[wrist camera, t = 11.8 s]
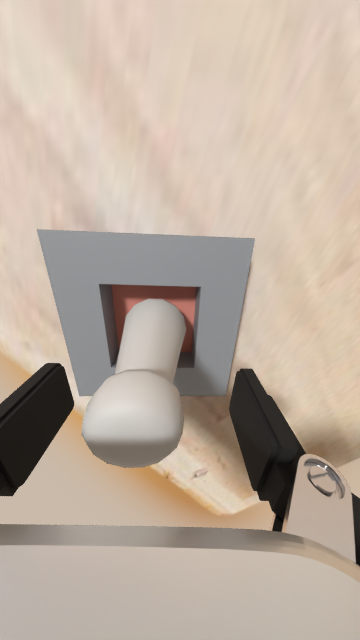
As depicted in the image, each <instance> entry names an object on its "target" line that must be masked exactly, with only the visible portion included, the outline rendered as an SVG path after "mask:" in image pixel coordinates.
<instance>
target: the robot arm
mask: <svg viewBox="0 0 360 640" xmlns="http://www.w3.org/2000/svg"><path fill="white" fill-rule="evenodd" d="M73 407H74V400H73V397H72V393H71V390H70V386H69V383H68V379H67V376H66V372H65V369H64V367H63V366H62V365H61V364H59V363H46V364H45V365H44V366H43V367H41V368H40V369H39V370H38V371H37V372H36V373H35V374H34V375H32V376H31V377H30V378H29V379H28V380H27V381H26V382H25V383H23V384H22V385H21V386H20V387H19V388H18V389H17V390H16V391H14V392H13V393H12V394H11V395H10V396H9V397H8V398H6V399H5V400H4V401H3V402H2V403H1V404H0V496H13V495H14V493H15V492H16V490H17V489H18V487H20V486H21V485H23V484H24V483H25V481H26V480H27V478H28V476H29V475H30V474H31V472H32V471H33V469H34V467H35V466H36V465H37V463H38V461H39V460H40V458H41V457H42V455H43V454H44V452H45V451H46V449H47V448H48V446H49V445H50V443H51V441H52V440H53V438H54V437H55V435H56V434H57V432H58V431H59V429H60V428H61V426H62V425H63V423H64V422H65V420H66V418H67V417H68V416H69V414H70V412H71V411H72V409H73ZM229 410H230V415H231V419H232V422H233V425H234V429H235V432H236V435H237V439H238V442H239V445H240V449H241V452H242V456H243V459H244V462H245V466H246V469H247V472H248V476H249V479H250V482H251V486H252V488H253V490H254V491H257V493H258V496H259V499H260V501H269V503H270V506H271V509H272V511H273V512H274V515H273V519H272V524H271V528H270V531H266V530H252V529H232V528H203V527H157V526H98V525H97V526H96V525H95V526H94V525H14V524H13V525H12V524H10V525H9V524H0V640H360V498H358V497H357V496H355V495H354V494H353V493H351V490H350V487H349V485H348V483H347V481H346V479H345V478H344V477H343V476H342V474H341V473H340V472H339V471H338V470H337V469H336V468H335V467H334V466H333V465H332V464H331V463H329V462H328V461H326V460H325V459H323V458H321V457H319V456H317V455H313V454H306V453H305V451H304V449H303V448H302V446H301V445H300V443H299V441H298V440H297V438H296V436H295V435H294V433H293V431H292V430H291V428H290V426H289V425H288V423H287V421H286V420H285V418H284V416H283V415H282V413H281V411H280V410H279V408H278V406H277V405H276V403H275V401H274V400H273V398H272V397H271V396H270V395H267V393H266V392H265V390H264V388H263V386H262V385H261V383H260V381H259V380H258V378H257V376H256V374H255V373H254V371H253V370H252V369H240V371H237V373H236V377H235V382H234V387H233V392H232V397H231V401H230V407H229Z"/></svg>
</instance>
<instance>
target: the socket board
mask: <svg viewBox="0 0 360 640" xmlns="http://www.w3.org/2000/svg"><path fill="white" fill-rule="evenodd" d="M37 232H38V236H39V240H40V244H41V248H42V252H43V256H44V259H45V263H46V267H47V271H48V275H49V279H50V283H51V287H52V291H53V295H54V298H55V302H56V306H57V310H58V314H59V318H60V322H61V326H62V330H63V334H64V337H65V341H66V345H67V349H68V353H69V357H70V361H71V365H72V369H73V373H74V377H75V380H76V384H77V388H78V392H79V396H93V395H94V393H95V392H96V391H97V390H98V388H99V387H100V386H101V385H102V384H103V383H104V381H105V380H106V379H107V378H109V377H110V376H112V375H114V374H115V370H116V365H117V360H118V355H119V350H120V345H121V340H122V335H123V330H124V324H125V319H126V315H127V314H128V313H129V311H130V310H131V309H132V308H133V306H134V305H135V304H137V303H140V302H142V301H144V300H146V299H164V300H166V301H168V302H170V303H172V304H174V305H175V306H176V307H177V308H178V310H179V311H180V312H181V313H182V315H183V316H184V320H185V325H186V332H185V336H184V340H183V343H182V347H181V351H180V355H179V359H178V364H177V368H176V372H175V377H174V381H173V385H174V386H175V387H176V388H177V389H178V391H179V394H180V396H226V391H227V386H228V381H229V375H230V370H231V364H232V359H233V354H234V348H235V343H236V338H237V332H238V327H239V322H240V316H241V311H242V305H243V300H244V295H245V289H246V284H247V279H248V273H249V268H250V263H251V257H252V252H253V247H254V241H255V239H254V238H230V237H206V236H183V235H159V234H135V233H111V232H87V231H64V230H40V229H37Z"/></svg>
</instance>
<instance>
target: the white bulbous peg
mask: <svg viewBox="0 0 360 640" xmlns="http://www.w3.org/2000/svg"><path fill="white" fill-rule="evenodd" d="M185 332H186V325H185V320H184V316H183V315H182V313H181V312H180V311H179V310H178V308H177V307H176V306H175V305H174V304H172V303H170V302H168V301H166V300H164V299H146V300H144V301H142V302H140V303H137V304H135V305H134V306H133V308H132V309H131V310H130V311H129V313H128V314H127V315H126V319H125V324H124V330H123V335H122V340H121V345H120V350H119V355H118V360H117V365H116V370H115V374H114V375H112V376H110V377H109V378H107V379H106V380H105V381H104V383H103V384H102V385H101V386H100V387H99V388H98V390H97V391H96V392H95V393H94V395H93V397H92V398H91V400H90V401H89V403H88V405H87V408H86V412H85V415H84V418H83V425H82V436H83V438H84V440H85V442H86V443H87V445H88V447H89V448H90V450H91V451H92V453H93V454H94V455H95V456H96V457H98V458H100V459H101V460H103V461H104V462H106V463H108V464H112V465H116V466H120V467H124V468H127V467H128V468H135V467H136V468H137V467H145V466H149V465H152V464H155V463H158V462H160V461H161V460H162V459H164V458H165V457H166V456H168V455H169V454H170V453H171V452H172V451H173V450H174V449H176V448H177V446H178V443H179V441H180V438H181V435H182V431H183V423H184V415H183V407H182V403H181V398H180V394H179V391H178V389H177V388H176V387H175V386H174V385H173V381H174V377H175V372H176V368H177V364H178V359H179V355H180V351H181V347H182V343H183V340H184V336H185Z"/></svg>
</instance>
